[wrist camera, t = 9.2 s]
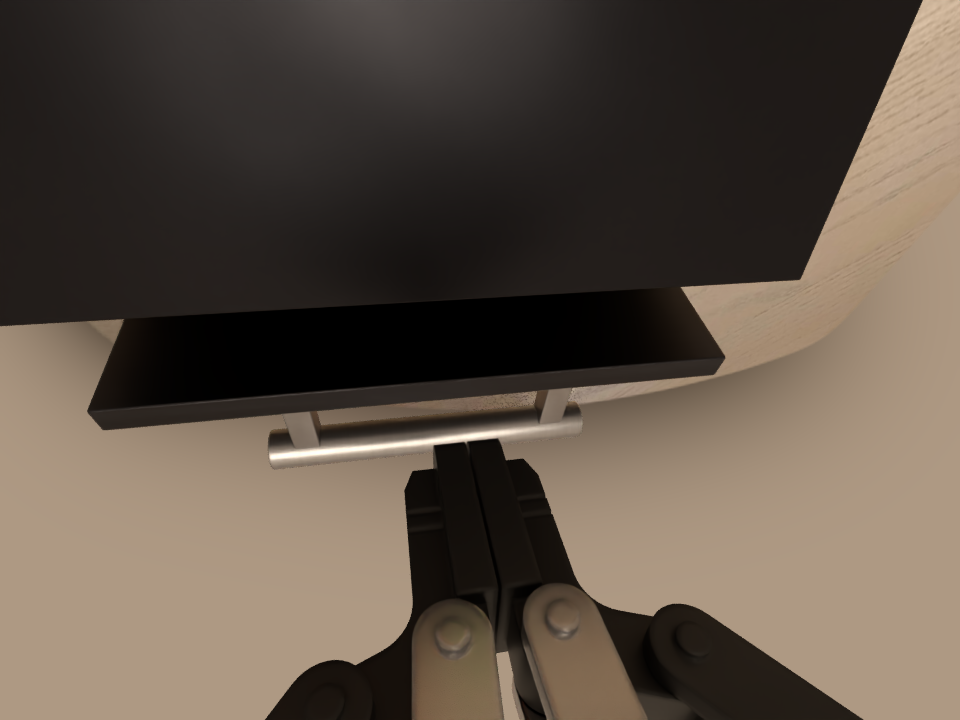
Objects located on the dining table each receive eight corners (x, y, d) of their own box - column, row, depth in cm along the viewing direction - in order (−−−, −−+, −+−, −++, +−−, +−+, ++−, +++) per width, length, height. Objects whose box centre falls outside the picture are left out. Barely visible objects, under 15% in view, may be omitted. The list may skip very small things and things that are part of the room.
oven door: (224, 303, 27) (175, 515, 19) (177, 186, 22) (85, 412, 14) (580, 283, 30) (659, 458, 23) (611, 178, 25) (727, 357, 18)
